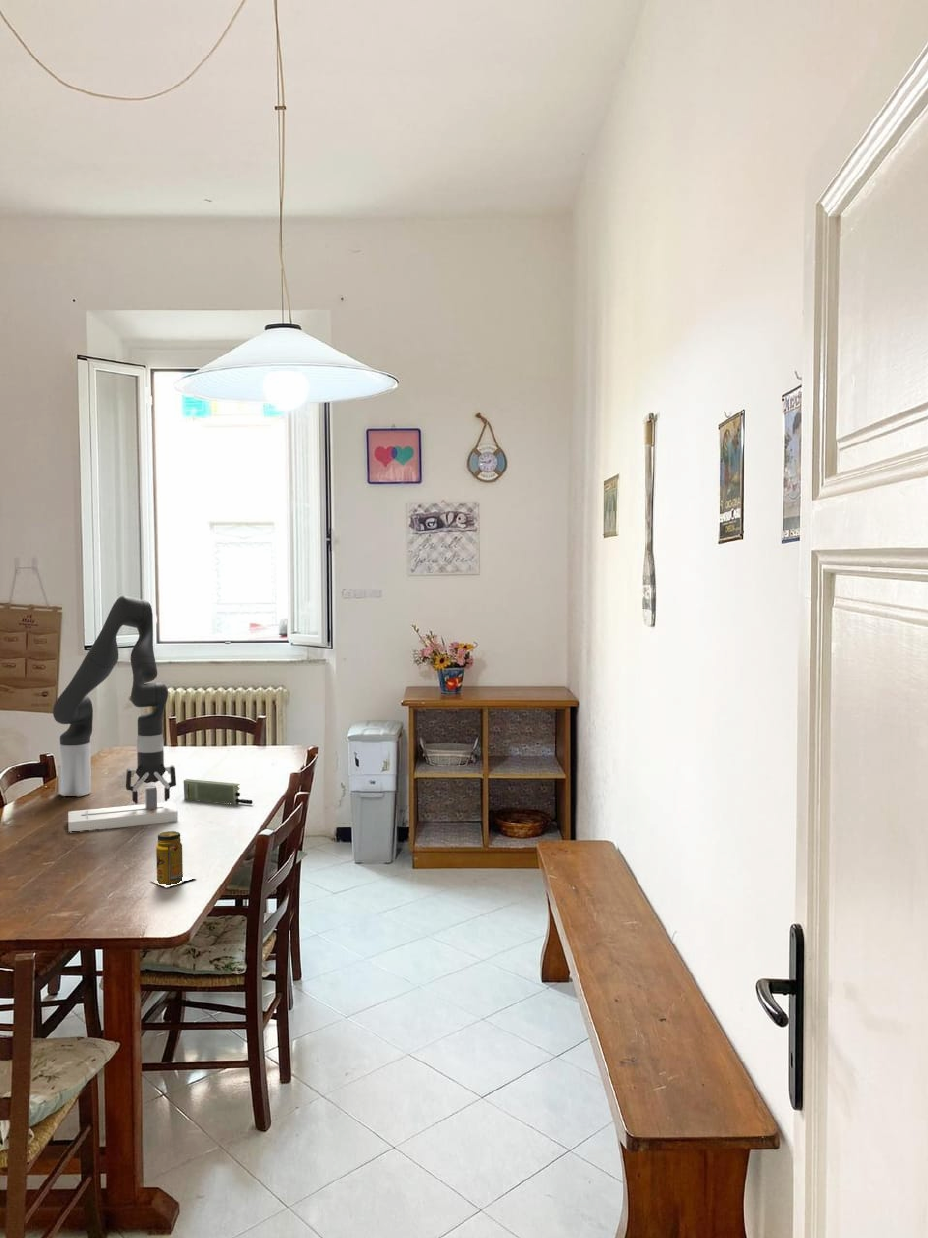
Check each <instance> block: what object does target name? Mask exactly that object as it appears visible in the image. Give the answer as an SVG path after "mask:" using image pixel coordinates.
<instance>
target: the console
mask: <svg viewBox="0 0 928 1238" xmlns="http://www.w3.org/2000/svg"><path fill="white" fill-rule="evenodd" d="M67 816H68V818H67V819H68V832H69V831H80V832H84V831H83V830H89V831H96V830H95V829H99V830H107V829H115V828H123V827H124V828H126V827H127V828H128V827H136V826H145V825H154V824H162V823H172V822H178V821H179V820H178V809H177V807H176V805H175V802H174V801H164V802H157V809H152V810H146V807H145V803H144V804H143V803H142V804H132V805H123V806H114V807H113V806H112V807H102V808H94V809H93V808H92V809H82V810H81V809H80V810H71V811H68V815H67ZM106 828H107V829H106ZM93 829H94V830H93ZM81 830H82V831H81Z"/></svg>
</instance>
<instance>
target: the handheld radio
mask: <svg viewBox="0 0 928 1238" xmlns="http://www.w3.org/2000/svg"><path fill="white" fill-rule="evenodd" d="M240 785H241V783H232V782H225V781H224V782H222V781H221V782H220V781H214V780H213V781H212V780H203V779H202V780H201V779H192V778H191V779H189V778H185V779H184V780H183V798H184V799H183V800H187V801H195V800H200V801H199V802H205V801H209V802H208V803H214V802H218V803H217V804H224V803H229V804H228V805H233V804H235V803H237V804H247V805H253V800H252V799H243V798H241V799H240V798H239V797H240V796H241V793H240V792H239V790H240V787H239V786H240ZM230 803H231V804H230ZM235 805H236V804H235Z"/></svg>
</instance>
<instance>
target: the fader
mask: <svg viewBox="0 0 928 1238" xmlns="http://www.w3.org/2000/svg"><path fill="white" fill-rule="evenodd" d="M157 792H158V790H157V787H156V785H146V786H144V800H145V801H144V804H145V807H146V810H152V809H157V803H158V793H157Z"/></svg>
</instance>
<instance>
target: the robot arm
mask: <svg viewBox="0 0 928 1238" xmlns="http://www.w3.org/2000/svg"><path fill="white" fill-rule="evenodd" d="M153 622H154V621H153V608H152V606H151V603H150V602H149V601H147V600H145V599H141V598H136V597H132V596H129V595H121V596H119V597H118V598H117V599H116V601H115V602H114V603H113V605H112V607H111V609H110V611H109V613H108V615H107V617H106V620H105V622H104V624H103V625H102V626H103V627H102V629H101V630H100V632H99V634H98V636H97V638H95V641H94V642H93V644H92V645H91V647H90V648H89V650H88V652H87V653H86V655H85V657H84V659H83V661H82V662H81V664H80V666H79V668H78V669H77V670H76V672H75V674H74V675H73V677H72V679H71V680H70V682H69V683H68V685H66V687H65V689H64V690H63V691H62V692H61V694H60V695H59V696H58V697H57V699H56V701H55V702H54V705H53V708H52V709H53V710H52V714H53V718H54V720H55V721H56V723H58V724H60V725H69V727H68V729H66V731H64V732H62V733H61V735H60V736H59V754H60V755H59V760H60V764H59V765H58V766H57V773H58V774H57V775H58V776H57V777H58V778H57V779H58V783H57V784H58V795H60V796H62V797H65V796H77V797H83V796H86V795H89V794H91V792H92V781H91V780H92V779H91V778H92V776H91V775H92V773H91V736H92V732H93V719H94V717H93V715H94V713H93V712H94V710H93V703H92V700H91V698H90V697H89V696H88V694H89V693H90V692H92V691H93V690H94V689H96V687H98V686H99V685H100V684H102V683H103V682H104V681H105V680H106V679H108V677H109V676H110V675H111V672H113V669H114V668H115V666H116V664H117V663H118V660H119V648H118V643H117V641H118V640H117V636H118V633H119V631H120V629H121V627H123V626H127V627H130V628H131V627H132V628H136V629H137V631H138V634H139V635H138V636H139V637H138V639H137V641H136V643H135V644H134V646H133V648H132V650H131V653H130V663H131V671H132V676H133V677H132V680H133V681H132V686H131V687H132V688H131V692H130V701H131V703H132V704H133V706H135V707H137V708H150V707H154V708H153V709H152V710H151V711H150V712H148V713H144V714H141V715H140V716H139V717H138V719H137V741H136V742H137V743H136V751H137V753H136V755H137V762H136V763H137V766H136V767H137V768H136V769H130V768H127V769H126V771H125V772H126V775H125V776H126V777H125V789H126V791H130V792H132V802H133V803H134V805H139V803H138V801H139V798H138V794H139V793H138V790H139V789H140V787H141V786H142V785H143V784H144V783H145V784H149V783H158V782H160V783H161V785H163V786H164V788H163V789H164V790H163V791H164V797H163V798H164V799H163V800H164V802H168V800H169V799H170V797H171V796H170V795H171V794H170V793H171V791H170V789H171V788H173V787H176V786H177V780H176V768H175V766H174V765H173V764H172V765H170V766H165V763H164V762H165V758H164V756H165V753H164V752H165V751H164V749H165V748H164V747H165V745H164V737H163V736H164V735H163V718H164V713H165V708H166V706H167V702H168V698H169V690H168V687H167V686H166V684H164V682H152V681H155V679H156V678H157V676H158V669H157V664H156V658H155V654H154V653H155V652H154V623H153ZM151 682H152V683H151ZM166 772H167V773H168V775H170V782H169V781H167V780H166V779H165V778H164V777H163V775H164V774H165V773H166ZM135 774H136V775H137V776H138V778H137V780H136V781H135V783H134V784H133V785H132V778H133V777H134V776H135Z"/></svg>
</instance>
